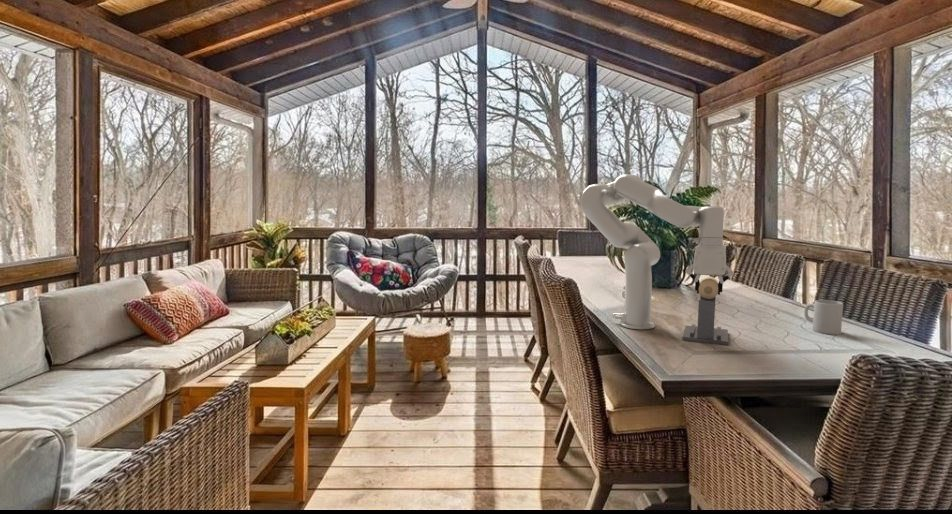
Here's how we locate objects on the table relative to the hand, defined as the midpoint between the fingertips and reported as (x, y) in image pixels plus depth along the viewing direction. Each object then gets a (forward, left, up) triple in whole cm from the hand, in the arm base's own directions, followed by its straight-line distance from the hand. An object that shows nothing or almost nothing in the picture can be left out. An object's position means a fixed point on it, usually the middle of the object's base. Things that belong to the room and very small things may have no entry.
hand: (708, 293), depth 173 cm
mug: (+38, +27, -16) cm, 49 cm away
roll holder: (0, 0, -16) cm, 16 cm away
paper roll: (0, 0, -1) cm, 1 cm away
